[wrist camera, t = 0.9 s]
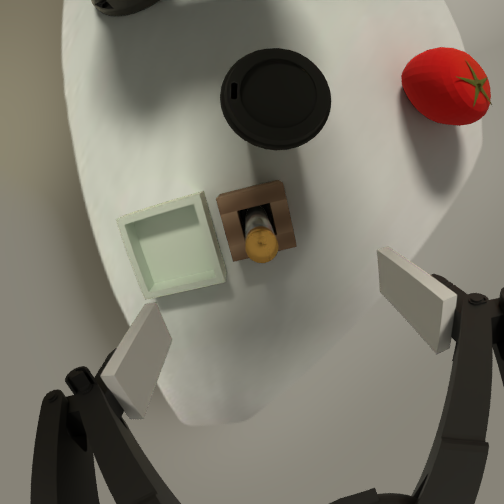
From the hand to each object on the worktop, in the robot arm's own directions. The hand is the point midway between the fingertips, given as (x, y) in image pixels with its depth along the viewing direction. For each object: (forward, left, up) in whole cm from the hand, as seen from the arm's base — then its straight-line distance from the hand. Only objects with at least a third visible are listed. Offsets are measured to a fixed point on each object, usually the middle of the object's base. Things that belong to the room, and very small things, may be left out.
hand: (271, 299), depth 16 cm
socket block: (0, 0, -24) cm, 24 cm away
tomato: (-14, +30, -24) cm, 41 cm away
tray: (+1, -12, -24) cm, 27 cm away
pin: (0, 0, -24) cm, 24 cm away
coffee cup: (-13, +4, -24) cm, 28 cm away
